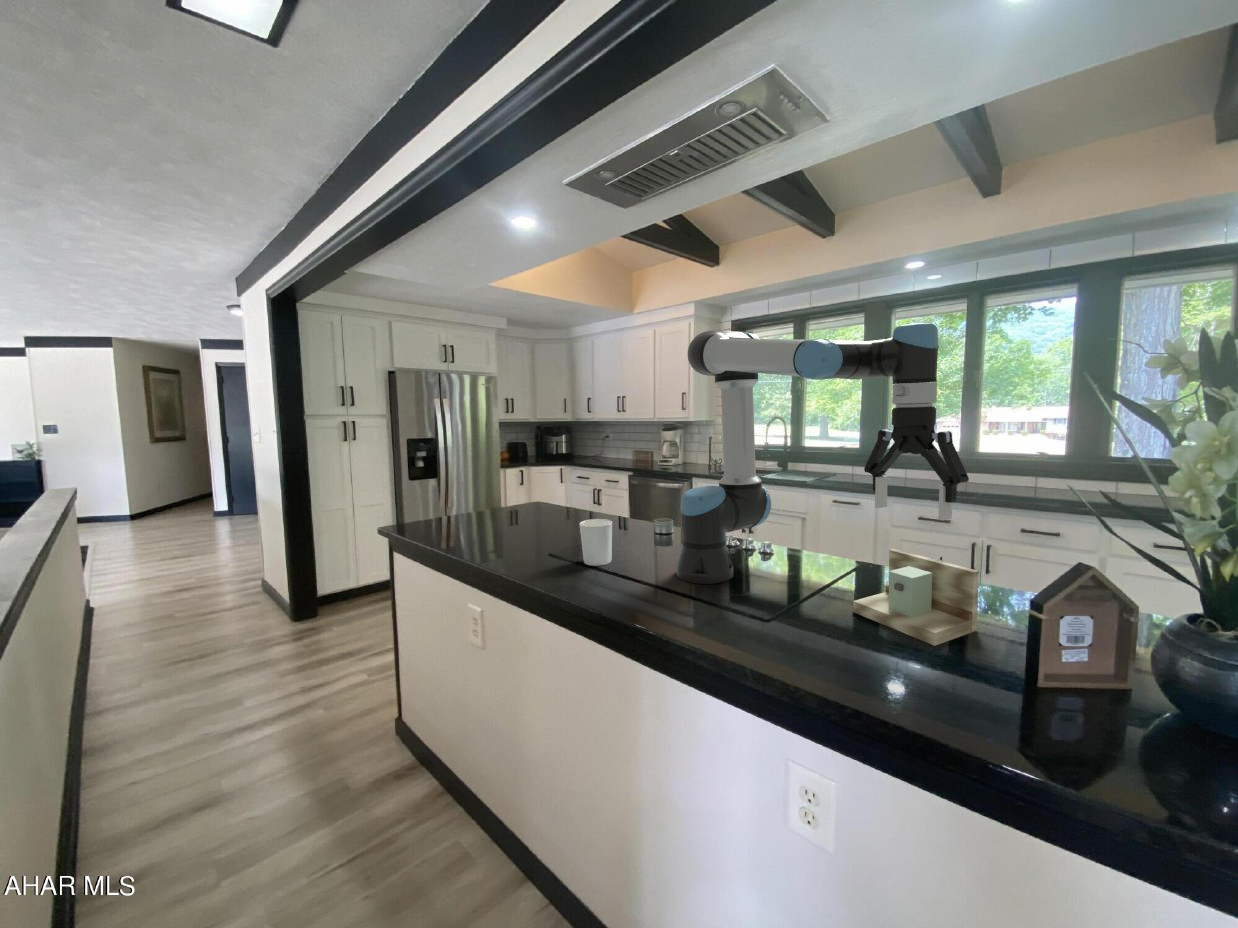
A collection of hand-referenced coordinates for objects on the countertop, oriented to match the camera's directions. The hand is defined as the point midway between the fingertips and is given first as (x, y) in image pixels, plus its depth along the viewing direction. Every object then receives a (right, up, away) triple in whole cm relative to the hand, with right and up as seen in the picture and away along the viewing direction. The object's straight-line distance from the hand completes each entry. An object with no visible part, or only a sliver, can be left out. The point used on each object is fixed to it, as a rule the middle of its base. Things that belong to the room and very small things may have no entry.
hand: (911, 512), depth 103 cm
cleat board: (+2, -22, +3) cm, 23 cm away
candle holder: (-65, -20, +52) cm, 86 cm away
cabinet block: (+1, -20, +2) cm, 20 cm away
